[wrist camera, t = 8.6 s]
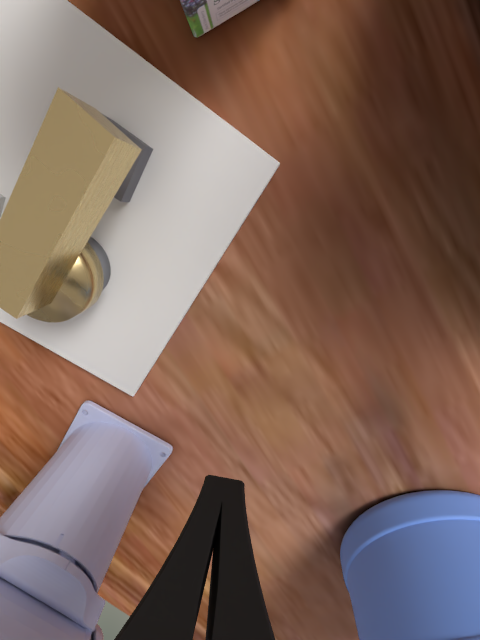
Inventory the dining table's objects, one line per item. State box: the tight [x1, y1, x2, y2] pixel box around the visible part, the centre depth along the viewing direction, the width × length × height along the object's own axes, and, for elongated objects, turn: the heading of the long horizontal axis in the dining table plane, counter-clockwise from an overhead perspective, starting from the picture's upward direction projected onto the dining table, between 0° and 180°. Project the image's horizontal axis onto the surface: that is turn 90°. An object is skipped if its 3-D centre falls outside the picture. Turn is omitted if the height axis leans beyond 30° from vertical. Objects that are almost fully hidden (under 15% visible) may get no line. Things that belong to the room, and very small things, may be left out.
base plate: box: [0, 0, 280, 397], centre depth 16 cm, size 18×18×2 cm
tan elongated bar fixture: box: [0, 87, 142, 323], centre depth 13 cm, size 5×11×4 cm, turn 139°
